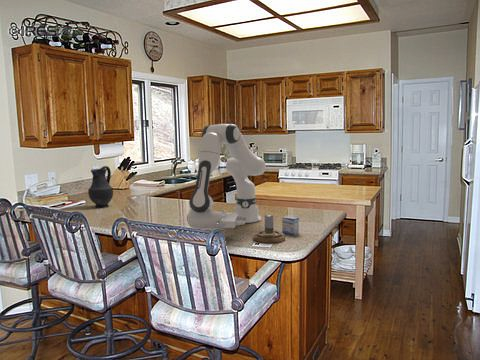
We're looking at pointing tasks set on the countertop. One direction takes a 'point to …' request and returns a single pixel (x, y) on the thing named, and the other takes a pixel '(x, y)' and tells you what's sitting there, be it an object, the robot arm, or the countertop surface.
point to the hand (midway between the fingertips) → (245, 220)
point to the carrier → (269, 237)
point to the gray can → (269, 226)
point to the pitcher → (101, 187)
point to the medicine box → (290, 225)
